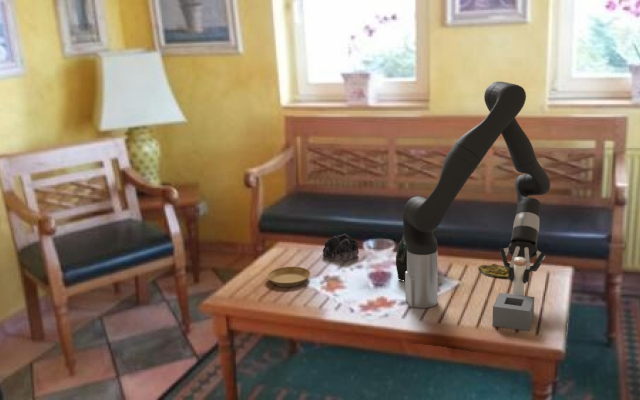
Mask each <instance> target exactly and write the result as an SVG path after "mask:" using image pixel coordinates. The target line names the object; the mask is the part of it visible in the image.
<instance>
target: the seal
mask: <svg viewBox="0 0 640 400" xmlns="http://www.w3.org/2000/svg"><path fill="white" fill-rule="evenodd" d="M478 271H479V273H481V274H482V275H484V276H487V277H491V278H494V279H505V280H509V278H508V275H509V269H508V268H505V267H504V265H499V264H496V263H491V264H481V265H478Z"/></svg>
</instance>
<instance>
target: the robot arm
mask: <svg viewBox="0 0 640 400" xmlns="http://www.w3.org/2000/svg"><path fill="white" fill-rule="evenodd" d="M526 93H527V92H526V91H525V89H524V87H523V86H521V85H519V84H516V83H511V82H507V81H505V82H504V81H494V82H492V83H490V84H489V85H488V86H487V88H486V89H485V91H484V96H483V97H484V98H483V99H484V103H485V106H486V109H488V111H489V113H488V115H486V117H485V118H483V120H482V121H481V122H480V123H478V124H477V125H475V126H474V127H473V128H471V129H470V130H468V131H466V133H464V134H463V135H461V136H460V137H459V138H458V139H457V140H456V142H455V143H454V144H453V146H452V147H451V149H449V152H448V153H447V155H446V156H445V158H444V161H443V164H442V168H441V171H440V175H439V180H438V181H437V184H436V185H435V187H434V189H433V190H432V192H431V193H430V194H429V195H428V197H427V198H425V197H423V196H419V195H418V196H413V197H411V198H410V199H408V201H407V202H406V203H405V205H404V207H403V212H402V213H403V214H402V225H403V235H404V239H405V242H406V245H407V271H406V272H405V282H404V283H405V284H404V285H405V288H404V289H405V301H406V303H407V304H408V305H409V306H410V307H411V308H419V309H423V308H424V309H428V308H433V307H434V306H436V305H437V304H438V299H439V297H438V296H439V295H438V293H439V292H438V284H439V283H438V274H439V273H438V268H439V267H438V262H439V260H438V255H439V254H438V253H439V251H438V241H437V239H436V237H434V235H433V232H432V231H433V230H434V229H436V228H438V227H439V225H440V224H441V223H442V221H443V219H444V218H445V216H446V215H447V212H448V211H449V209H450V207H451V206H452V204H453V202H454V200H455V199H456V197H457V196H458V195H459V193H460V191H462V189H463V187H464V186H465V184H466V182H467V181H468V180H469V178H470V177H471V175H472V174H473V173H474V171H475V170H476V169H477V168H478V166H479V165H480V163H482V161H483V159H484V157H486V154H487V153H488V151H490V149H491V148H492V147H493V145H494V144H495V142H496V141H497V139H498V138H499V136H502V138H503V140H504V143H505V144H506V147H507V150H508V152H509V155H510V159H511V161H512V164H513V168H514V169H515V171H516V172H518V173H521V174H519V175H518V176H517V177H516V178H515V182H514V187H515V192H516V198H517V199H516V200H517V205H516V206H517V207H516V212H515V218H514V221H513V227H512V233H511V239H510V243H509V245H508V246H507V247H506V248H505V247H504V248H503V247H500V248H499V253H500V256H501V259H502V263H503V266H504V267H505V268H508V269H509V275H508V278H509V279H508V280H509V281H510V282H511V283H513V279H514V258H515V257H524V258H525V259H526V264H525V271H524V278H523V283H524V285H526V284H527V283H528V282H529V281H530V274H531V273H532V272H537V271H538V270H539V268H540V266H541V265H542V263H543V262H544V260H545V259H546V253H545V252H544V251H539V250H538V248H537V246H538V244H537V243H538V238H539V233H540V217H541V210H542V204H541V202H540V200H538V199H537V198H535V197H532V196H542V195H547V194H548V192H549V190H550V189H551V180H550V177H549V176H548V174H547V172H546V171H545V170H544V168H543V167H542V166H541V164H540V163H539V161H538V159H537V156H536V154H535V150H534V147H533V145H532V143H531V141H530V140H531V139H529V137H528V135H527V134H526V133H525V132H524V130H523V128H522V127H521V126H520V123H519V122H518V120H517V119H516V117H517V116H518V115H519V113H520V112H521V111H522V110H523V107H524V106H525V103H526V101H527V99H526V98H527V94H526ZM529 196H531V197H529ZM509 253H510V255H511V261H510V263H509V262H508V259H507V256H508V254H509ZM535 256H536V260H535V262H534V263H533V264H532V265H531V260H532V259H533V258H534V257H535Z"/></svg>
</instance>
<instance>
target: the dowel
mask: <svg viewBox="0 0 640 400" xmlns="http://www.w3.org/2000/svg"><path fill="white" fill-rule="evenodd" d="M525 270H526V259H525V258H524V257H515V258H514V279H513V282H512V294H515V295H523V296H525V284H524V283H523V278H524V271H525Z"/></svg>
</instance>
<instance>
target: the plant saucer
mask: <svg viewBox="0 0 640 400" xmlns="http://www.w3.org/2000/svg"><path fill="white" fill-rule="evenodd" d="M310 276H311V271H310V270H309V269H307V268H305V267H301V266H284V267H283V266H282V267H279V268H275V269H273V270H271V271H269V272H268V274H267V279H268V280H270V282H271V283H272V284H274V285H275V286H277V287H280V288H281V287H283V288H293V287H297V286H300V285H302V284H304V283H305V282H306V281H307V280H308V279H309V278H310Z"/></svg>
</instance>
